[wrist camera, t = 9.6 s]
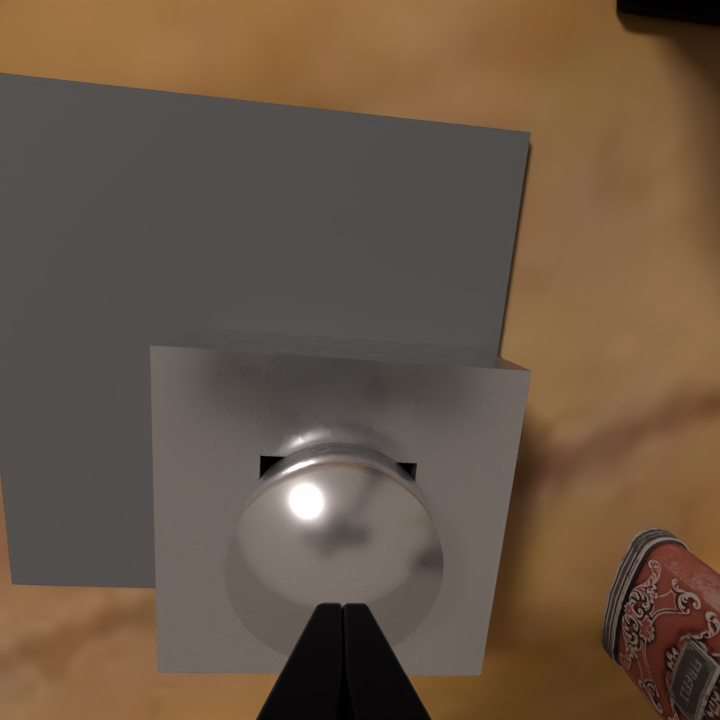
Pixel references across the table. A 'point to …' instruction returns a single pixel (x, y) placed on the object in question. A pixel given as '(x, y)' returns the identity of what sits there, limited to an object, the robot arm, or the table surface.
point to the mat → (208, 275)
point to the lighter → (666, 626)
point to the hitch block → (319, 426)
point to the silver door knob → (333, 545)
